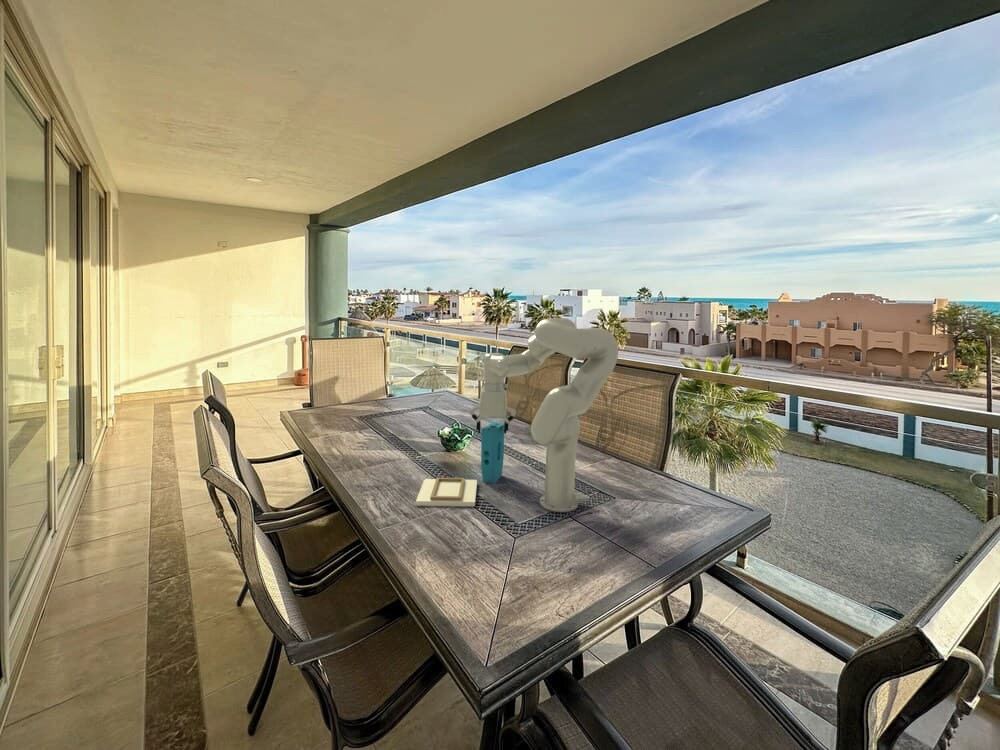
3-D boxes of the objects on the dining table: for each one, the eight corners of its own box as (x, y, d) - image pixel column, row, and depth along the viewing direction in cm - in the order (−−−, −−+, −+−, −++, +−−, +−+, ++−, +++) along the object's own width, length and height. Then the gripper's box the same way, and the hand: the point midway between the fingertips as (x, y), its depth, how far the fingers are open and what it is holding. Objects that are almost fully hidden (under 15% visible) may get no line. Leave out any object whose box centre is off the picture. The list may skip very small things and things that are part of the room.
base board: (477, 483, 167) (477, 477, 167) (474, 506, 148) (474, 499, 148) (424, 482, 167) (424, 476, 166) (415, 505, 148) (415, 498, 148)
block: (492, 485, 166) (493, 431, 163) (479, 482, 168) (480, 429, 165) (503, 473, 177) (505, 423, 174) (491, 472, 179) (492, 422, 176)
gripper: (516, 385, 171) (515, 430, 174) (470, 384, 171) (469, 428, 174) (517, 389, 164) (515, 436, 167) (469, 388, 164) (468, 434, 166)
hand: (492, 432), depth 170 cm, fingers open, 9 cm apart
